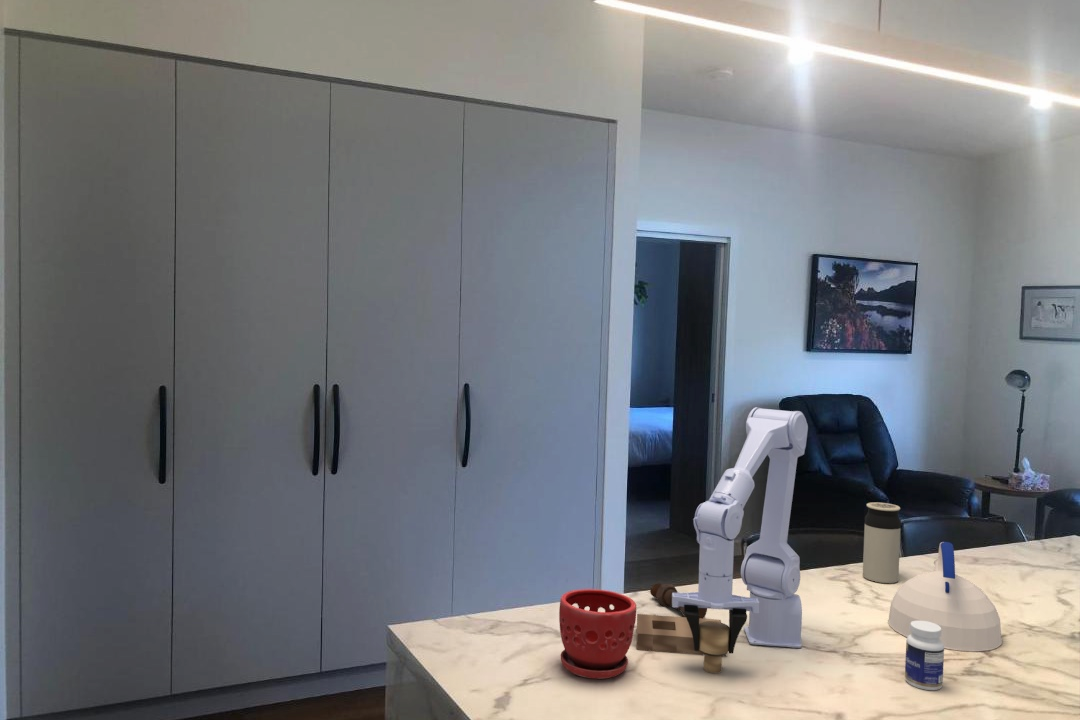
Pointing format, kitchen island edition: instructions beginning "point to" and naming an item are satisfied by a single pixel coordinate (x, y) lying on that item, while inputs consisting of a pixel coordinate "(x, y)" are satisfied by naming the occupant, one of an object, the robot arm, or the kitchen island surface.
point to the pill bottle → (924, 656)
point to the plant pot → (596, 632)
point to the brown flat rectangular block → (666, 634)
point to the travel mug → (881, 543)
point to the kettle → (947, 607)
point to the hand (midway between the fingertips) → (713, 649)
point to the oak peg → (713, 644)
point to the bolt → (670, 597)
